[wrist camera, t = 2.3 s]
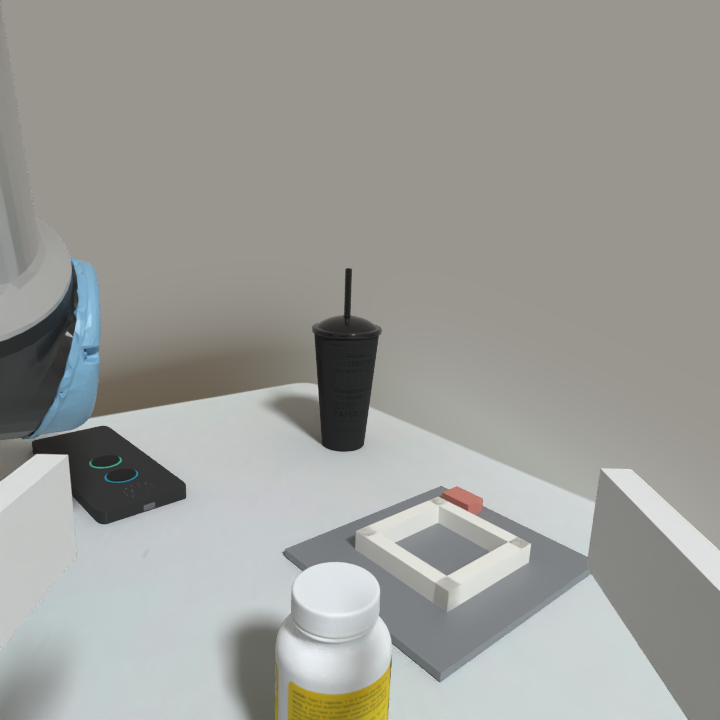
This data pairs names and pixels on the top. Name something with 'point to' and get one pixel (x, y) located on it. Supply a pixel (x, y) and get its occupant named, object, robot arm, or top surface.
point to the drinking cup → (345, 375)
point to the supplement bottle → (333, 648)
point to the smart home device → (112, 474)
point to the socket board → (449, 573)
